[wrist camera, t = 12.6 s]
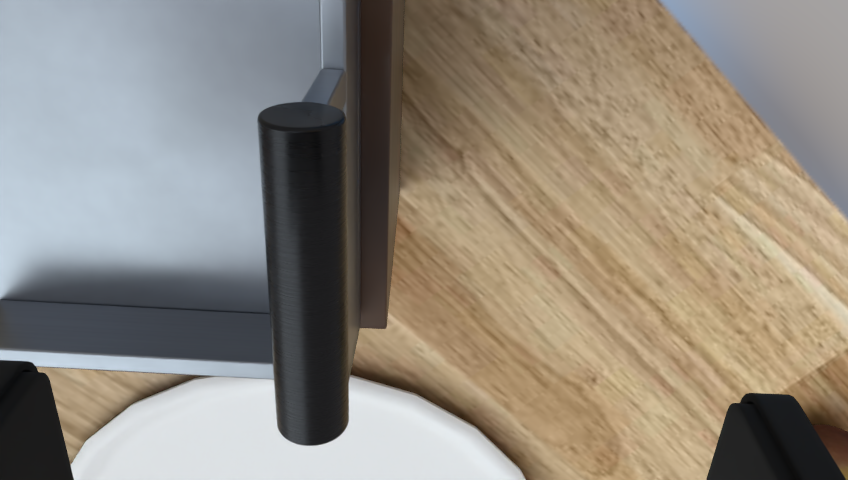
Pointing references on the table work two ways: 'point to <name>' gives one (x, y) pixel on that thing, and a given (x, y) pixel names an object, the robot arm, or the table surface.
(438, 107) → the table surface
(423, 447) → the plate
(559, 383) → the table surface
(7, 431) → the robot arm
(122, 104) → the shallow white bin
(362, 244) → the stand
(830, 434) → the fruit
